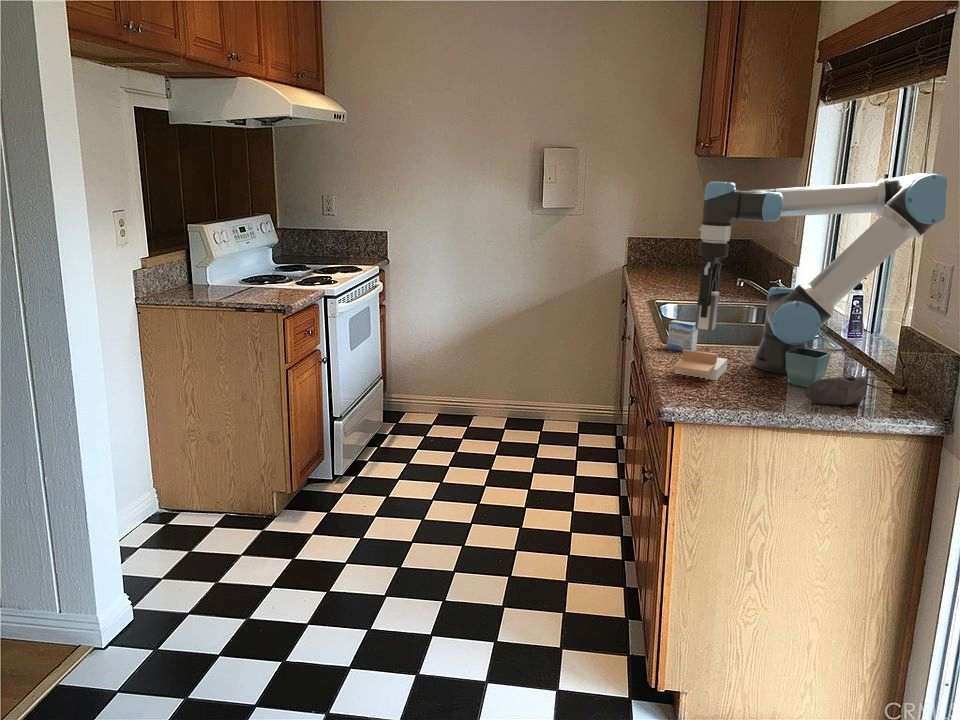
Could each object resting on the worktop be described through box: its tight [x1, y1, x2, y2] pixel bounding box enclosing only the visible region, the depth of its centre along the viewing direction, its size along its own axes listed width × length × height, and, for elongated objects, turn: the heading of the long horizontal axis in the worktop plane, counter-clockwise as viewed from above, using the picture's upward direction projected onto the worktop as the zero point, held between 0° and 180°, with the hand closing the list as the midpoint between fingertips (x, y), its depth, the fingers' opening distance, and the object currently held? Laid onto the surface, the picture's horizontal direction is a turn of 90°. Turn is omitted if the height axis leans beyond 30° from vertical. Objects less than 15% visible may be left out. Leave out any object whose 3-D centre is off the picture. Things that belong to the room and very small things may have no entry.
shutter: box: [672, 349, 718, 374], centre depth 213 cm, size 9×10×3 cm
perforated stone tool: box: [805, 376, 868, 406], centre depth 195 cm, size 15×5×7 cm, turn 89°
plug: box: [695, 291, 720, 332], centre depth 218 cm, size 4×4×10 cm
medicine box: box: [666, 319, 699, 352], centre depth 247 cm, size 8×4×9 cm, turn 55°
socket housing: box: [674, 357, 728, 381], centre depth 221 cm, size 11×14×3 cm
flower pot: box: [786, 347, 832, 389], centre depth 211 cm, size 9×9×9 cm
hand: (705, 327), depth 219 cm, fingers closed on plug, 4 cm apart
